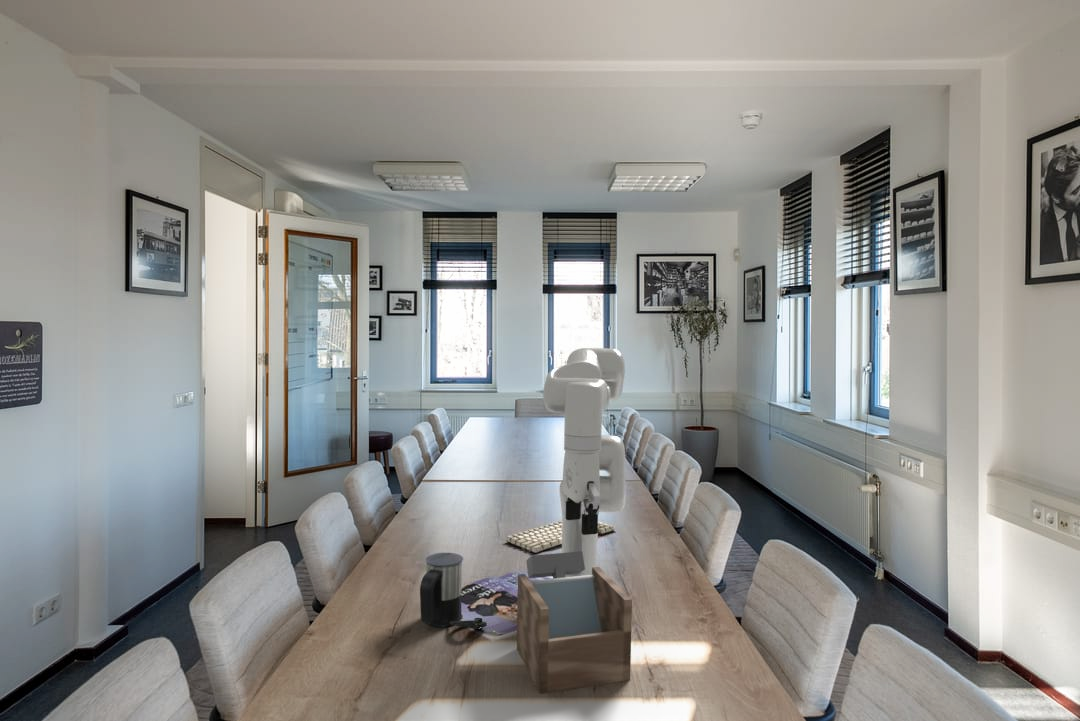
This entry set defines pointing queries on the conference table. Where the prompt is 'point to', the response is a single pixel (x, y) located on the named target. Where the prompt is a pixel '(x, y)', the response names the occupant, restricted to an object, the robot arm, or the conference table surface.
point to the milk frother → (444, 592)
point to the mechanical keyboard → (547, 537)
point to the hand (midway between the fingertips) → (581, 526)
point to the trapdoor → (565, 593)
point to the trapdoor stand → (575, 640)
